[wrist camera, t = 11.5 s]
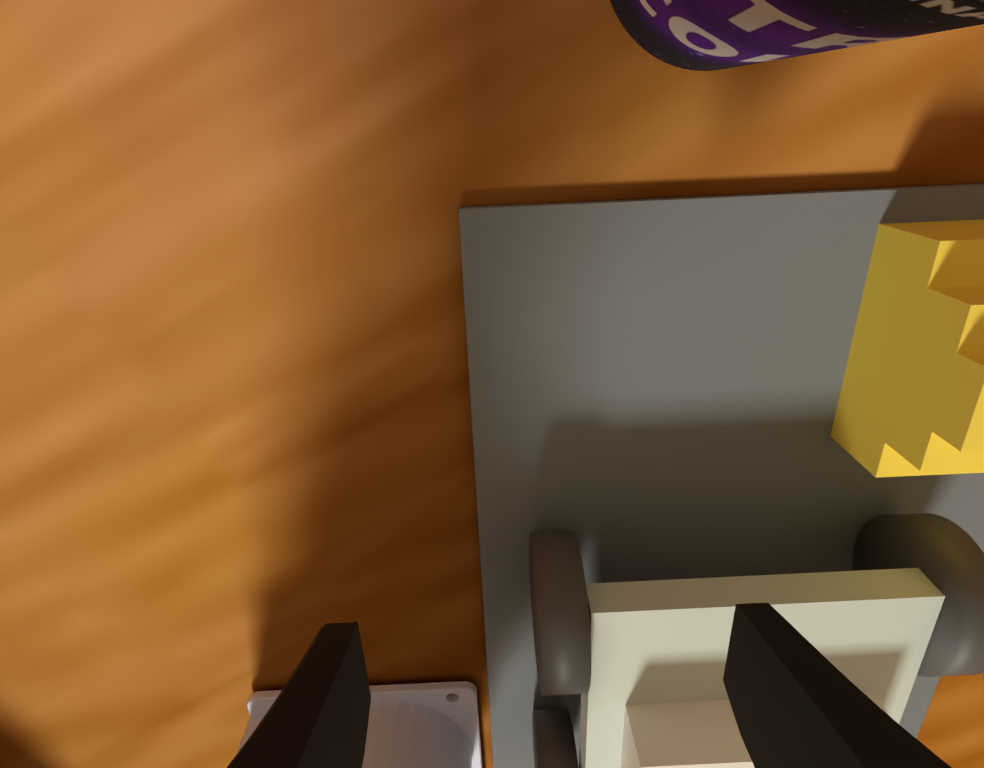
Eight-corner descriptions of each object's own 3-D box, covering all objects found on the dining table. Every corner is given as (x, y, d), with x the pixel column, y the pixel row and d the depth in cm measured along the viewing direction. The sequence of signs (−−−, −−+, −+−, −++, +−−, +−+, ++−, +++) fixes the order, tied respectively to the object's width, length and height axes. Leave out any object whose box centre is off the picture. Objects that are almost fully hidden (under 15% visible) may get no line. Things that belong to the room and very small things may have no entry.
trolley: (533, 760, 27) (548, 934, 21) (528, 501, 21) (547, 646, 15) (831, 745, 27) (926, 915, 21) (909, 483, 21) (1070, 621, 15)
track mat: (493, 766, 27) (493, 775, 27) (458, 207, 17) (458, 209, 17) (904, 746, 28) (910, 755, 27) (1118, 177, 17) (1132, 178, 17)
